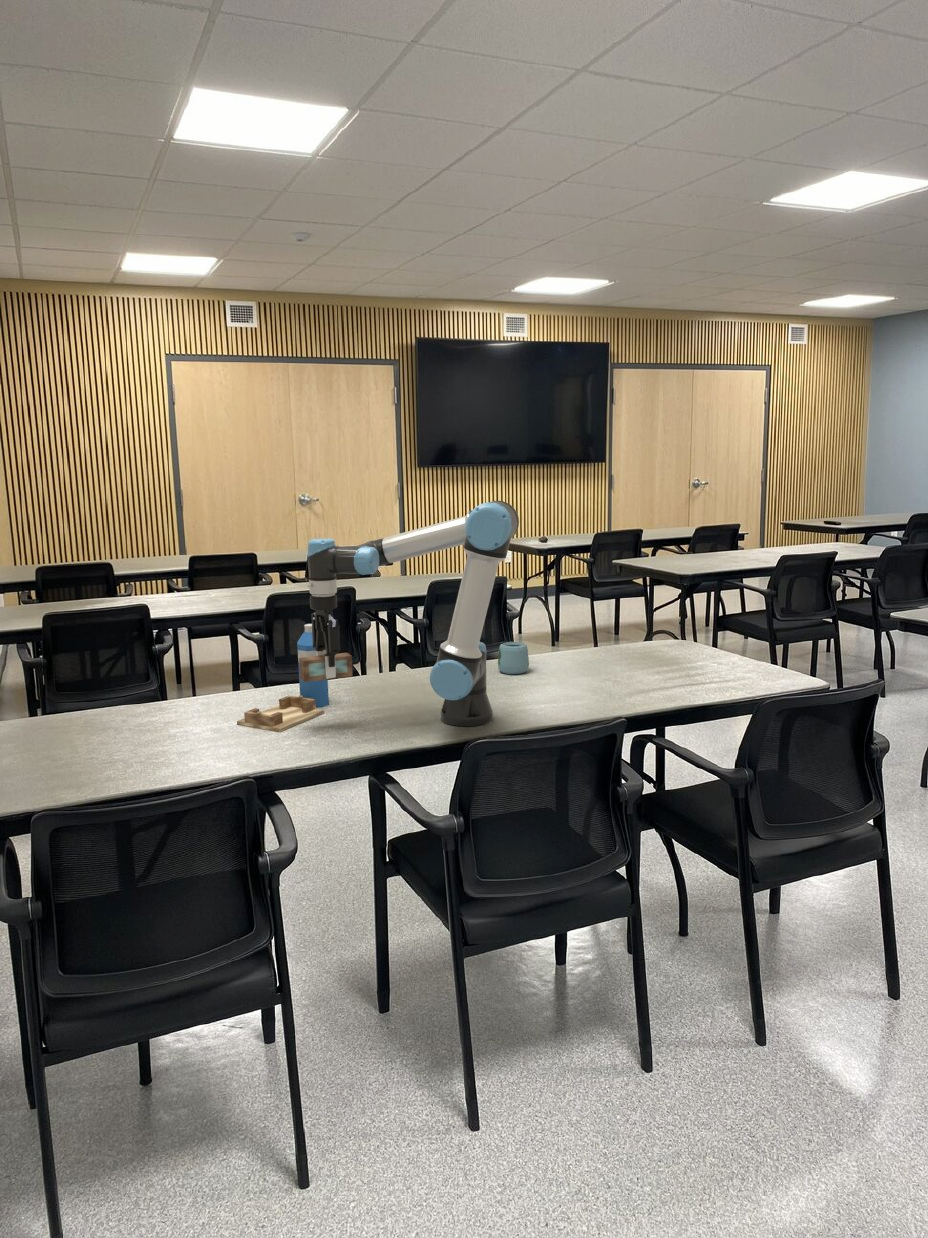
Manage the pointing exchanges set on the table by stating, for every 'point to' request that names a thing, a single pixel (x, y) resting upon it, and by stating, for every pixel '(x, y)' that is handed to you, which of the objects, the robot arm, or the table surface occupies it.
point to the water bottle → (311, 688)
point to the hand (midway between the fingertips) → (326, 675)
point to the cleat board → (282, 714)
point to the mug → (513, 658)
